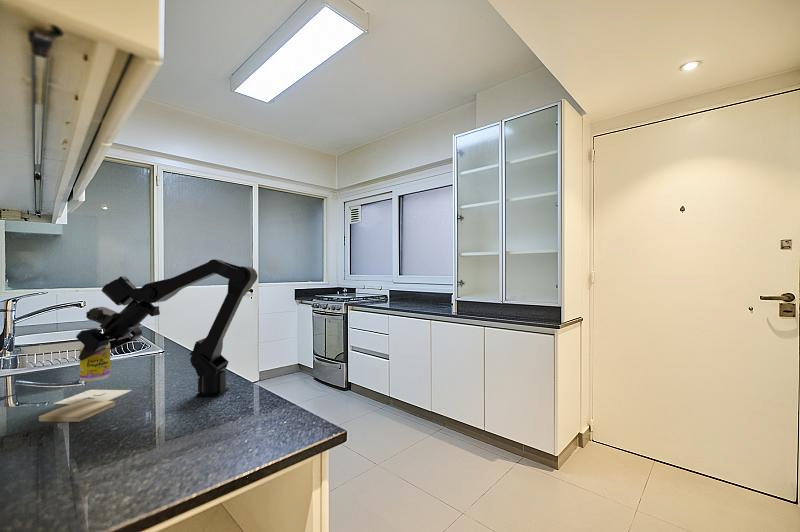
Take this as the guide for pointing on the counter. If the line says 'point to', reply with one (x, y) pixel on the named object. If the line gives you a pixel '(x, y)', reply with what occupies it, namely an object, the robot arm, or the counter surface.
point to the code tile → (94, 396)
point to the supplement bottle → (95, 365)
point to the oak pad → (77, 411)
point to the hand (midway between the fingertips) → (90, 356)
